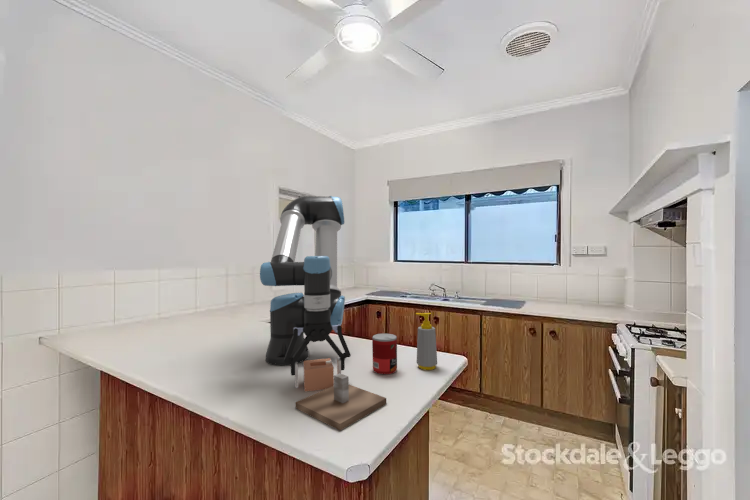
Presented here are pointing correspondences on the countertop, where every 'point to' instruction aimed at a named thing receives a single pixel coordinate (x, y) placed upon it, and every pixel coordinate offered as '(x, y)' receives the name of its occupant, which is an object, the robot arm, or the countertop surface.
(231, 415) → the countertop surface
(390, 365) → the canned food
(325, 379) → the orange open box
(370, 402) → the base plate
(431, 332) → the soap bottle
